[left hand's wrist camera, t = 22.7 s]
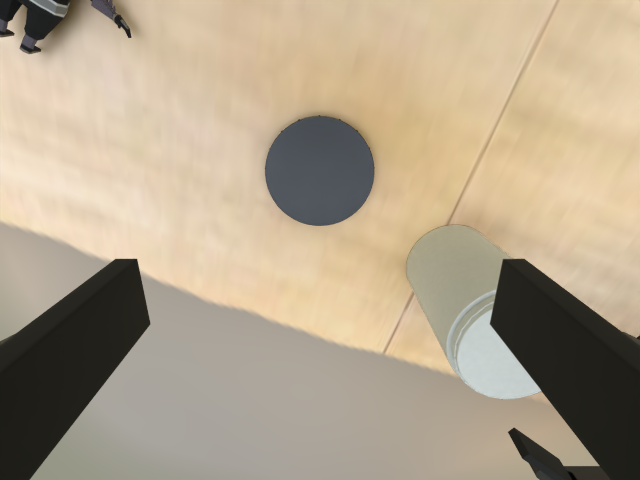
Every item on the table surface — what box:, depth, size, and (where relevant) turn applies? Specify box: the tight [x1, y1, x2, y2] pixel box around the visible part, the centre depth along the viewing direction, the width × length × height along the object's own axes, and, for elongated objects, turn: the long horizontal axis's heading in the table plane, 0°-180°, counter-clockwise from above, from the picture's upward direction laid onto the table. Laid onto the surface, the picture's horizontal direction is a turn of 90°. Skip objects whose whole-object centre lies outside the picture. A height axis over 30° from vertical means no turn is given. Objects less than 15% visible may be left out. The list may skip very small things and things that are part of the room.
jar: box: [406, 225, 541, 399], centre depth 34 cm, size 10×10×16 cm
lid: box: [265, 115, 374, 226], centre depth 37 cm, size 11×11×2 cm
